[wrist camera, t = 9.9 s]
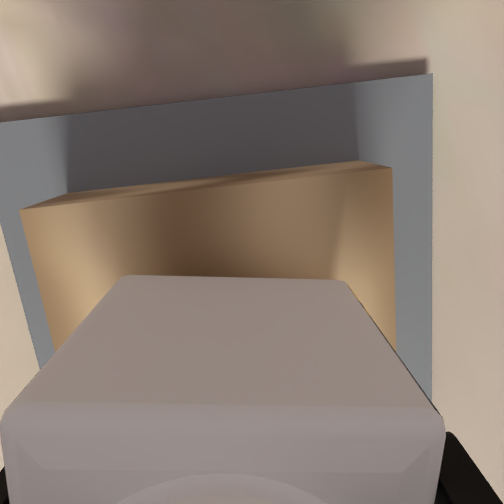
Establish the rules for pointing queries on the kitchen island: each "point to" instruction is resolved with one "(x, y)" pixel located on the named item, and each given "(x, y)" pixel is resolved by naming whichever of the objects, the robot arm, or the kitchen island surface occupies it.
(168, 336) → the medicine bottle
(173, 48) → the kitchen island surface
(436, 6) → the kitchen island surface
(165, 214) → the oak block
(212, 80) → the kitchen island surface
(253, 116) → the grey square mat
